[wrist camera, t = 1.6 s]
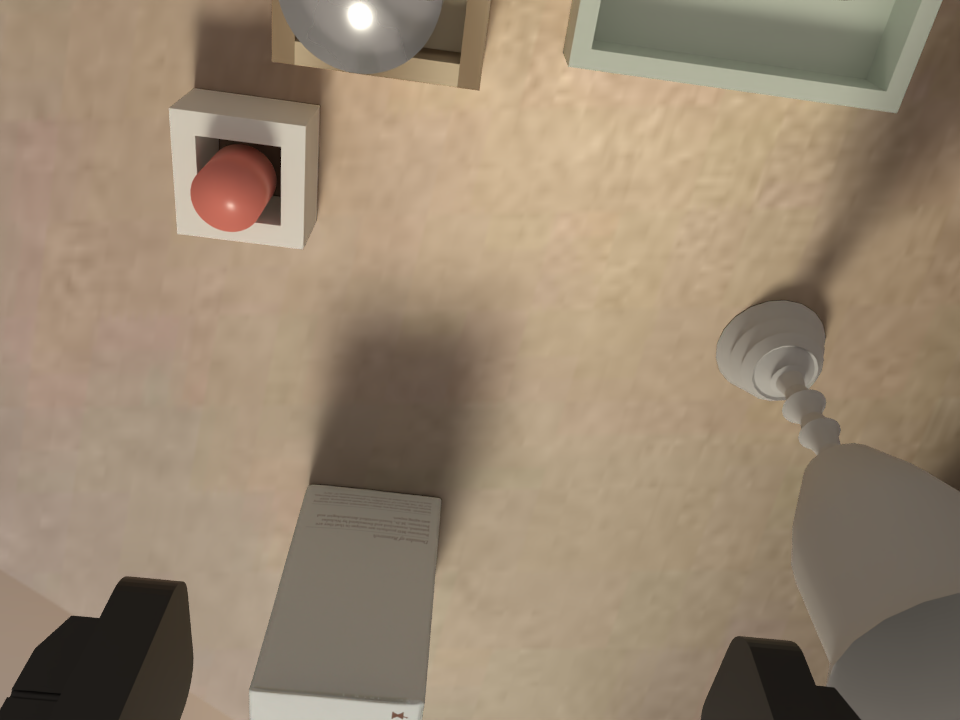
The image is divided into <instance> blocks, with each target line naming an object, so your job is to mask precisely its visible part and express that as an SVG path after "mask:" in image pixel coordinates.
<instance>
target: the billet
mask: <svg viewBox="0 0 960 720" xmlns="http://www.w3.org/2000/svg"><path fill="white" fill-rule="evenodd" d="M443 2H444V0H279V3H280V6H281V10H282V12H283V15H284V17H285V19H286V22H287V23H288V25H289V27H290V29H291V30H292V32H293V33H294V35H295V36H296V37H297V39H298V40H299V41H300V42H301V43H302V45H303V46H304V47H305V48H306V49H307V50H308V51H309V52H311V53H312V54H313V55H314V56H315V57H317V58H318V59H320V60H321V61H323V62H324V63H326V64H328V65H330V66H332V67H334V68H337V69H340V70H343V71H346V72H351V73H358V74H374V73H380V72H385V71H388V70H391V69H394V68H396V67H398V66H400V65H402V64H404V63H406V62H407V61H408V60H410V59H411V58H413V57H414V56H415V55H416V54H417V53H418V52H419V51H420V50H421V49H422V48H423V46H424V45H425V44H426V43H427V41H428V40H429V38H430V36H431V35H432V33H433V31H434V29H435V26H436V24H437V22H438V18H439V15H440V12H441V8H442V5H443Z"/></svg>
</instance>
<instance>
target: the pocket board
mask: <svg viewBox="0 0 960 720" xmlns="http://www.w3.org/2000/svg"><path fill="white" fill-rule="evenodd" d="M490 4H491V0H444V2H443V5H442V8H441V12H440V15H439V18H438V22H437V24H436V26H435V29H434V31H433V33H432V35H431V36H430V38H429V40H428V41H427V43H426V44H425V45H424V46H423V48H422V49H421V50H420V51H419V52H418V53H417V54H416V55H415V56H414V57H413V58H411V59H410V60H408V61H407V62H406V63H404V64H402V65H400V66H398V67H396V68H394V69H391V70H388V71H385V72H380V73H374V74H364V75H371V76H378V77H385V78H393V79H400V80H407V81H414V82H421V83H429V84H436V85H443V86H450V87H457V88H465V89H472V90H479V89H480V81H481V73H482V66H483V58H484V50H485V42H486V35H487V27H488V19H489V12H490ZM272 62H277V63H285V64H292V65H299V66H306V67H313V68H321V69H328V70H335V71H342V72H346V71H343V70H340V69H337V68H334V67H332V66H330V65H328V64H326V63H324V62H323V61H321V60H320V59H318V58H317V57H315V56H314V55H313V54H312V53H311V52H309V51H308V50H307V49H306V48H305V47H304V46H303V45H302V43H301V42H300V41H299V40H298V39H297V37H296V36H295V35H294V33H293V32H292V30H291V29H290V27H289V25H288V23H287V22H286V19H285V17H284V15H283V12H282V10H281V6H280V3H279V0H272ZM349 73H351V72H349ZM357 74H358V73H357Z"/></svg>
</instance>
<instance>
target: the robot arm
mask: <svg viewBox="0 0 960 720" xmlns="http://www.w3.org/2000/svg"><path fill="white" fill-rule="evenodd" d="M192 671H193V646H192V635H191V624H190V613H189V602H188V592H187V586H186V584H185V582H182V581H171V580H161V579H150V578H140V577H129V576H126V577H124V578H122V579H121V580H120V581H119V582H118V584H117V585H116V587H115V589H114V591H113V593H112V595H111V596H110V598H109V600H108V602H107V604H106V606H105V608H104V610H103V612H102V614H101V616H100V618H92V617H81V616H71V617H70V618H69V619H67V620H66V621H65V622H64V623H63V624H62V625H61V626H60V627H59V628H58V629H56V630H55V631H54V632H53V633H52V634H51V635H50V636H49V637H47V638H46V639H45V640H44V641H43V642H42V643H41V644H40V645H38V646H37V647H36V648H35V650H34V651H33V653H32V655H31V656H30V658H29V660H28V662H27V663H26V665H25V667H24V669H23V670H22V672H21V674H20V676H19V677H18V679H17V681H16V683H15V685H14V686H13V688H12V693H11V696H10V697H9V698H8V697H7V699H6V700H5V702H4V704H3V706H2V707H1V709H0V720H180V718H181V715H182V713H183V710H184V707H185V704H186V700H187V697H188V693H189V689H190V684H191V678H192ZM701 720H861V719H860V718H859V716H858V715H857V714H856V713H855V712H854V710H853V709H852V708H851V707H850V705H849V704H848V703H847V702H846V701H845V699H844V698H843V697H842V696H841V695H840V693H839V692H838V691H837V690H836V689H835V687H824V686H816V685H815V682H814V680H813V677H812V675H811V672H810V670H809V667H808V665H807V662H806V660H805V657H804V655H803V653H802V651H801V649H800V648H799V646H798V645H797V644H796V643H794V642H792V641H786V640H775V639H764V638H754V637H743V636H737V637H735V638H734V639H733V640H732V642H731V643H730V645H729V648H728V650H727V652H726V654H725V657H724V659H723V661H722V664H721V666H720V668H719V670H718V673H717V675H716V677H715V680H714V682H713V684H712V686H711V689H710V691H709V693H708V695H707V698H706V700H705V703H704V705H703V709H702V715H701Z"/></svg>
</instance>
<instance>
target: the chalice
mask: <svg viewBox="0 0 960 720" xmlns="http://www.w3.org/2000/svg"><path fill="white" fill-rule="evenodd" d="M825 338H826V337H825V332H824V327H823V323H822V322H821V320H820V319H819V318H818V316H817V315H816V313H815V312H814V311H812V310H810V309H809V308H807V307H806V306H804V305H803V304H799V303H795V302H791V301H787V300H783V301H768V302H765V303H762V304H759V305H756V306H753V307H750V308H749V309H747V310H745V311H744V312H742V313H741V314H739V315H738V316H736V317H735V318H734V319H733V320H732V321H731V322H730V323H729V325H728V326H727V327H726V328H725V329H724V331H723V333H722V335H721V337H720V339H719V341H718V343H717V351H716V360H717V364H718V367H719V370H720V372H721V373H722V374H723V376H724V377H725V378H726V379H727V381H728V382H730V383H732V384H734V385H735V386H737V387H739V388H740V389H743V390H745V391H746V392H748V393H750V394H752V395H754V396H755V397H757V398H759V399H764V400H768V401H778V400H786V401H785V403H784V405H783V409H782V412H783V416H784V417H785V418H786V420H788V421H790V422H792V423H797V424H798V423H799V424H800V425H801V431H800V432H799V437H798V438H799V442H800V443H801V444H802V446H804V447H806V448H808V449H812V450H813V451H814V453H815V454H816V455H817V456H816V457H815V458H814V459H812V460H811V461H810V463H809V464H808V466H807V467H806V469H805V471H804V475H803V480H802V484H801V489H800V493H799V498H798V502H797V507H796V511H795V516H794V521H793V527H792V560H791V565H792V569H793V573H794V577H795V581H796V584H797V586H798V589H799V591H800V593H801V596H802V598H803V600H804V603H805V605H806V607H807V610H808V612H809V615H810V617H811V619H812V622H813V624H814V626H815V629H816V631H817V633H818V636H819V638H820V641H821V643H822V645H823V648H824V650H825V652H826V655H827V657H828V660H829V662H830V666H829V672H828V678H827V684H826V687H835V689H836V690H837V691H838V692H839V693H840V695H841V696H842V697H843V698H844V699H845V701H846V702H847V703H848V704H849V705H850V707H851V708H852V709H853V710H854V712H855V713H856V714H857V715H858V716H859V718H860V719H861V720H960V492H959V491H958V490H956V489H955V488H953V487H951V486H950V485H948V484H946V483H945V482H943V481H941V480H940V479H938V478H936V477H935V476H933V475H931V474H930V473H928V472H926V471H924V470H922V469H921V468H919V467H917V466H915V465H913V464H911V463H909V462H906V461H904V460H901V459H899V458H896V457H894V456H891V455H889V454H886V453H884V452H881V451H879V450H876V449H874V448H871V447H869V446H866V445H861V444H856V443H851V444H841V445H840V441H839V435H840V431H841V429H840V425H839V424H838V422H837V421H835V420H833V419H831V418H826V417H825V416H823V415H822V412H823V411H824V409H825V406H826V399H825V397H824V395H823V394H822V393H820V392H818V391H816V390H811V389H810V390H809V388H810V387H811V386H812V385H813V383H814V382H815V381H816V380H817V378H818V376H819V375H820V373H821V371H822V366H823V361H824V359H823V355H824V343H825Z"/></svg>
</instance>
